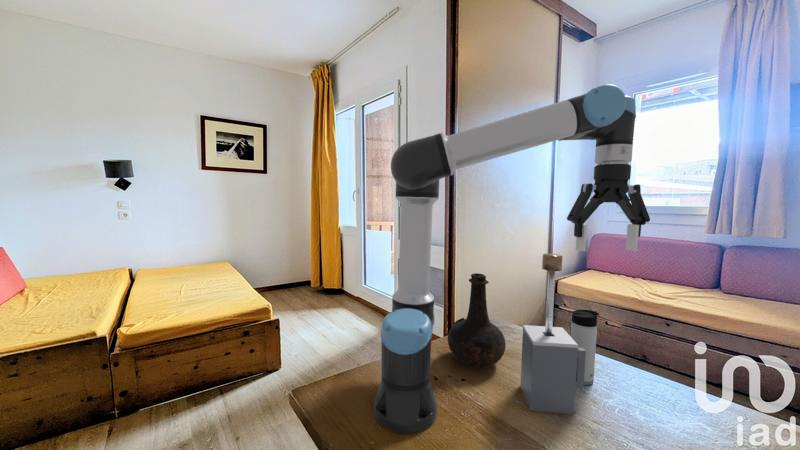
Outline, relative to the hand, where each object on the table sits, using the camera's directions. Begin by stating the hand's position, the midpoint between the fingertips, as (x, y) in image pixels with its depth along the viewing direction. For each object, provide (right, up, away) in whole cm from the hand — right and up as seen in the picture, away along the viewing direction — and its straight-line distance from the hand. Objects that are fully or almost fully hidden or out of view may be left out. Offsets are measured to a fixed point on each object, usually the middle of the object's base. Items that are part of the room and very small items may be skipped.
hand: (606, 250), depth 79 cm
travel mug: (0, -38, +11) cm, 40 cm away
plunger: (-14, -24, +1) cm, 28 cm away
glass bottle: (-28, -37, +21) cm, 51 cm away
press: (-12, -38, +2) cm, 40 cm away
